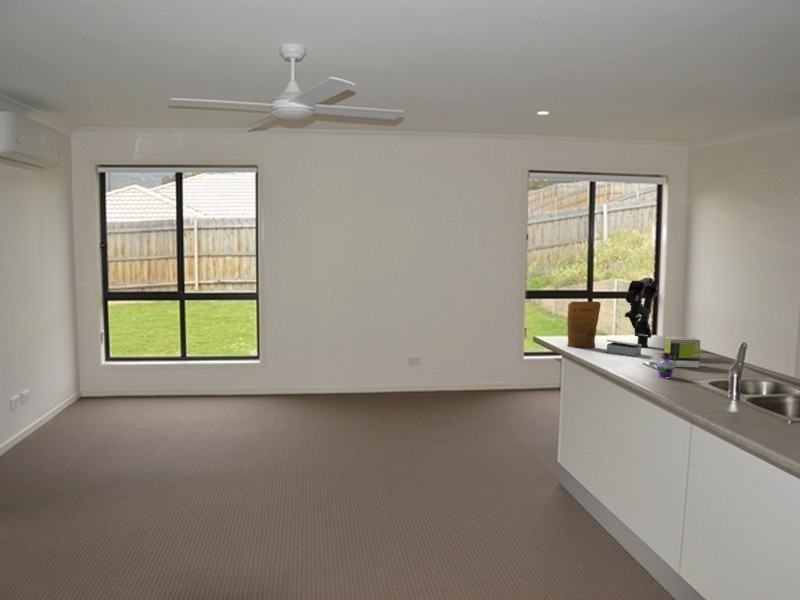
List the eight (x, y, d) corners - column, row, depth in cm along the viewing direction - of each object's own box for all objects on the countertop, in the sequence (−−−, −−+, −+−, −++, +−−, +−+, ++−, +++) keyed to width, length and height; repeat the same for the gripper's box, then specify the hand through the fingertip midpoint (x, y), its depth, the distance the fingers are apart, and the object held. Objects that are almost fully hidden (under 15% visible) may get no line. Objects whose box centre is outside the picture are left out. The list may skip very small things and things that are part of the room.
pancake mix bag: (599, 349, 374) (601, 302, 371) (566, 347, 377) (568, 301, 373) (596, 347, 381) (599, 300, 378) (564, 345, 383) (567, 299, 380)
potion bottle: (655, 378, 303) (657, 353, 301) (654, 374, 311) (656, 350, 309) (675, 379, 300) (676, 355, 298) (674, 376, 308) (675, 351, 306)
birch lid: (613, 342, 370) (613, 340, 370) (641, 345, 360) (641, 344, 360) (606, 341, 362) (606, 339, 362) (635, 345, 352) (635, 343, 352)
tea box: (692, 364, 337) (694, 336, 336) (699, 368, 328) (701, 340, 326) (663, 363, 339) (665, 335, 337) (669, 367, 329) (671, 339, 327)
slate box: (613, 350, 371) (613, 342, 370) (640, 354, 361) (641, 345, 360) (606, 352, 363) (607, 344, 363) (634, 357, 353) (635, 348, 353)
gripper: (644, 304, 359) (643, 331, 360) (655, 302, 373) (653, 328, 375) (625, 302, 366) (623, 329, 367) (636, 300, 380) (634, 326, 382)
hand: (634, 328), depth 373 cm, fingers closed
